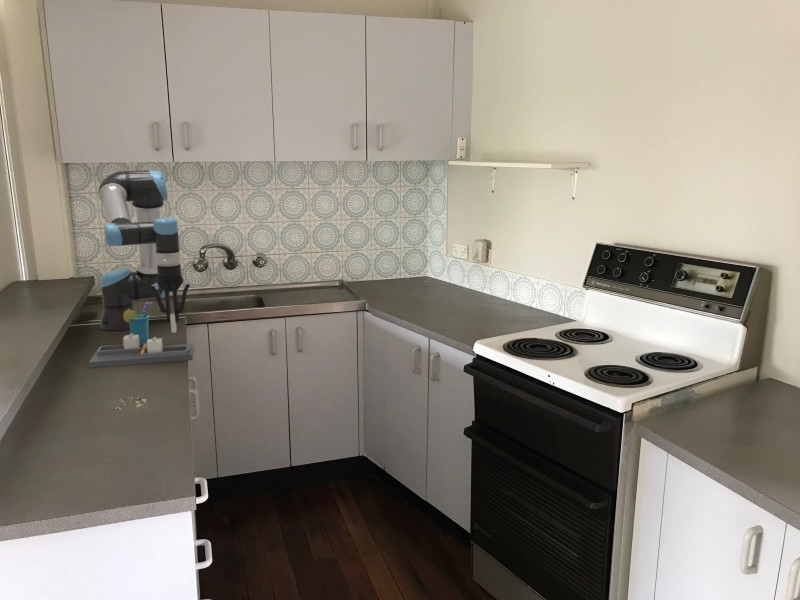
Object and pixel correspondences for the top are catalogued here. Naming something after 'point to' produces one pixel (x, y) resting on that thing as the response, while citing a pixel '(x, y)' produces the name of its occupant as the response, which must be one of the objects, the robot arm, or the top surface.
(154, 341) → the tab
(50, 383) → the top surface
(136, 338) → the tab
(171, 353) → the switch bank
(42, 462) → the top surface
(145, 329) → the cup
